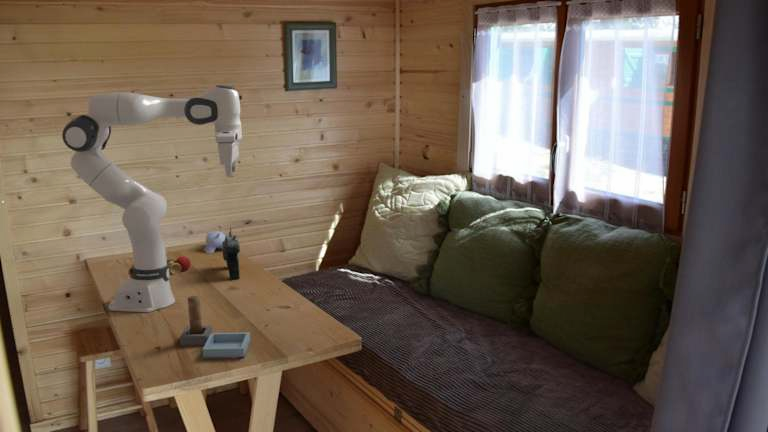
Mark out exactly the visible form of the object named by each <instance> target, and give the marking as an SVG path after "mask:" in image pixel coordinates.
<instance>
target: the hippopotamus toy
mask: <svg viewBox="0 0 768 432" xmlns="http://www.w3.org/2000/svg"><path fill="white" fill-rule="evenodd" d="M226 236H227V235H226V234H225V233H223V232H221V231H220V230H219V231H217V230H213V231H210V232H209V231H208V232H207V234H206V237H205V243H206V246H205V248H204V251H205V252H206V254H213V253H215V251H216V249H217V248H220V249H221V250H222V251H223V245H222V243H223V241H225V237H226Z"/></svg>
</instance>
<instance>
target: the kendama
mask: <svg viewBox="0 0 768 432" xmlns="http://www.w3.org/2000/svg"><path fill="white" fill-rule="evenodd" d="M167 263H168V266H169V273H170V274H172V275H176V274H175V273H178V274H180V273H181V272H186V271H187V270H189V268H190V267H191V260H190V258H188V257H187V256H184V255H182V256H179V257H178V258H176V260H175V258H169V259H168V258H167ZM185 270H186V271H185Z"/></svg>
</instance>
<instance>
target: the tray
mask: <svg viewBox="0 0 768 432" xmlns="http://www.w3.org/2000/svg"><path fill="white" fill-rule="evenodd" d="M250 341H251V333H250V331H249V332H247V331H244V332H243V331H242V332H212V333H211V334H210V336H209V338H208V340H207V342H206V344H205V345H203V347H202V359H203V360H206V359H210V360H211V359H212V358H219V359H239V358H238V357H244V358H245V357H246V355H245V354H247V351H248V349H249V347H250V344H251V342H252V341H251V342H250ZM232 357H233V358H232ZM234 357H235V358H234ZM212 360H213V359H212Z"/></svg>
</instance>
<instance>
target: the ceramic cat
mask: <svg viewBox="0 0 768 432" xmlns="http://www.w3.org/2000/svg"><path fill="white" fill-rule="evenodd" d="M228 233H229V234H228V235H225V236H226V237H225V241H223V243H222V245H223V250H222V257H223V260H224V261H225V263H226V266H227V267H226V269H227V268H228V269H229V270H228V269H227V270H228V276H229V278H230V281H237V280H238V279H239V280H240V259H239V253H240V252H241V248H240V243H239V237H236V236H237V234H234V235H233V234H232V226H230V227H229V232H228Z"/></svg>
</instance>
